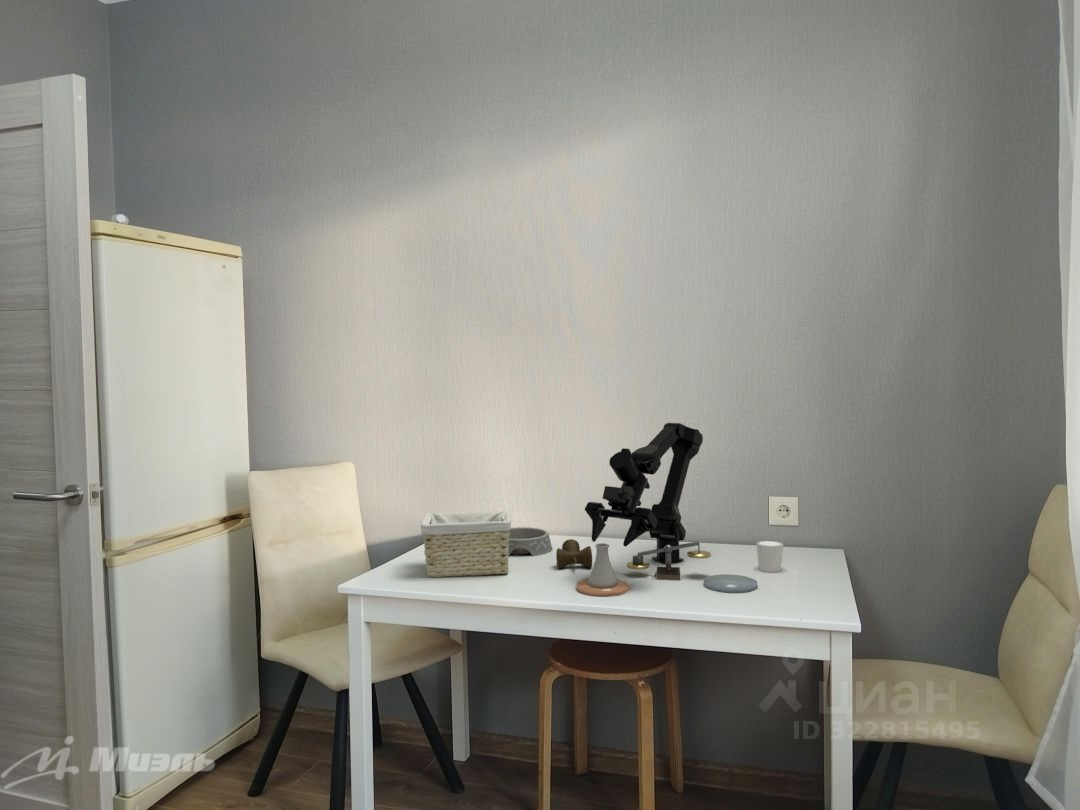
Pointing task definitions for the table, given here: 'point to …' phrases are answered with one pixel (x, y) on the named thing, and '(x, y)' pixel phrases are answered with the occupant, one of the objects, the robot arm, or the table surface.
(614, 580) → the flask
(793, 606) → the table surface
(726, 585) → the slate dish
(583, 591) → the terracotta dish
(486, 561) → the storage basket
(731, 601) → the table surface
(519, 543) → the dog bowl
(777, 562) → the white cup
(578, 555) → the kendama
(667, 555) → the balance
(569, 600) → the table surface
